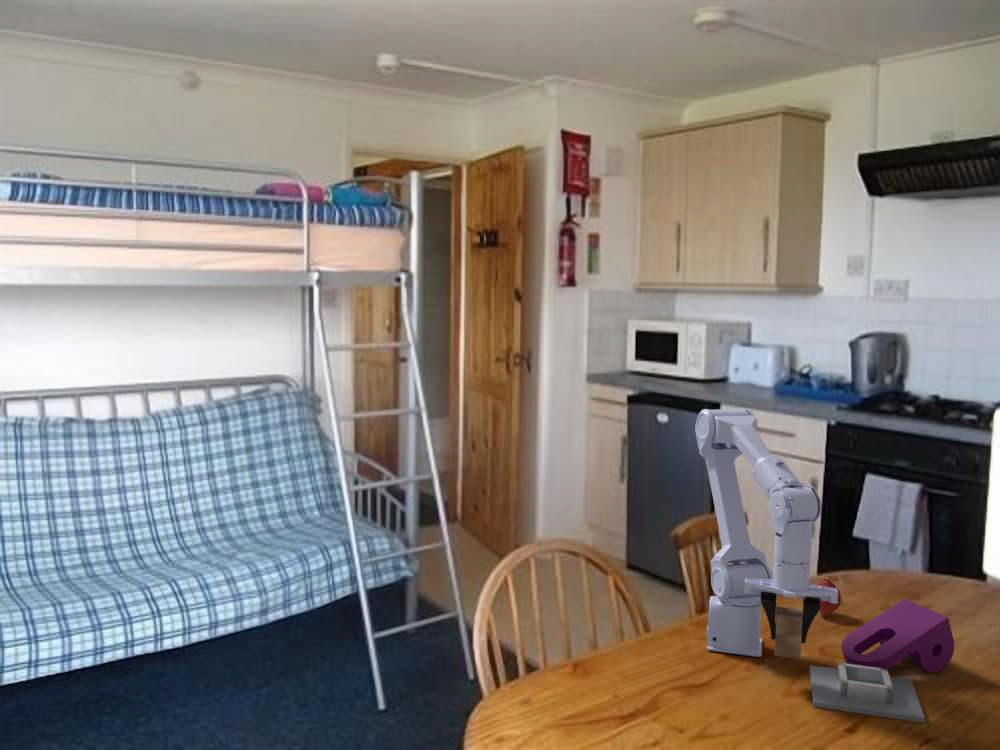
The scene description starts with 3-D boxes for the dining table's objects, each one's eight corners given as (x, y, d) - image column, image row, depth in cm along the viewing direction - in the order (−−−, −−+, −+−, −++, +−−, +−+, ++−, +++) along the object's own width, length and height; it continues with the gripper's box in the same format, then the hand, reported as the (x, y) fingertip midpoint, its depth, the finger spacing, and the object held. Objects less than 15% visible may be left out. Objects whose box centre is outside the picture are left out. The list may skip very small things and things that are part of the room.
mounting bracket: (882, 710, 146) (958, 658, 151) (870, 668, 144) (948, 617, 149) (841, 686, 154) (915, 637, 160) (829, 646, 152) (904, 598, 158)
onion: (814, 607, 179) (816, 570, 179) (843, 614, 176) (845, 576, 175) (806, 616, 175) (807, 577, 174) (835, 622, 171) (837, 583, 171)
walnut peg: (774, 655, 143) (776, 614, 142) (774, 646, 146) (776, 606, 146) (800, 659, 141) (802, 617, 141) (799, 649, 145) (801, 608, 144)
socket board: (813, 706, 137) (814, 686, 136) (809, 669, 150) (810, 651, 150) (924, 723, 132) (926, 702, 132) (910, 683, 145) (911, 664, 145)
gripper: (745, 561, 141) (741, 642, 142) (841, 571, 136) (836, 654, 138) (746, 549, 147) (743, 626, 149) (837, 558, 143) (833, 637, 144)
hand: (787, 638), depth 144 cm, fingers closed on walnut peg, 4 cm apart
